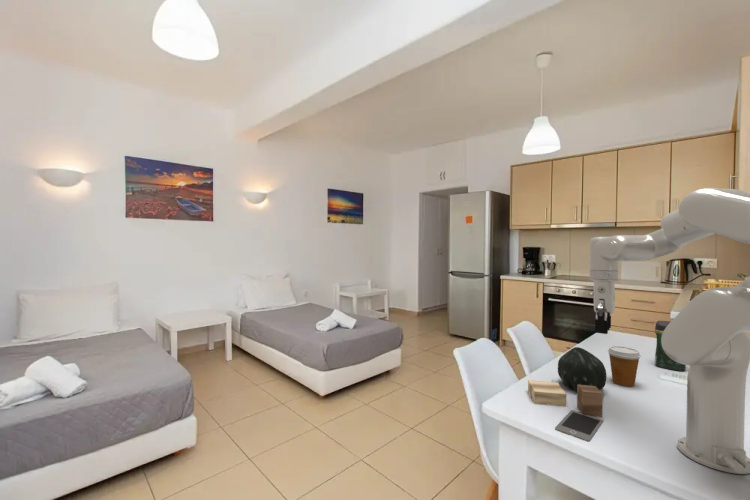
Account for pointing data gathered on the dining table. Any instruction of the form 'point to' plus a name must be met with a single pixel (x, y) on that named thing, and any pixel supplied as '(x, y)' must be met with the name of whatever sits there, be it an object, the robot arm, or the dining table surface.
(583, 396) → the walnut block
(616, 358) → the disposable coffee cup
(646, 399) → the dining table surface
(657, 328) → the coffee jar
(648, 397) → the dining table surface
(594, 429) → the smartphone
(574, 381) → the squash
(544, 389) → the oak base block
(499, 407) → the dining table surface
